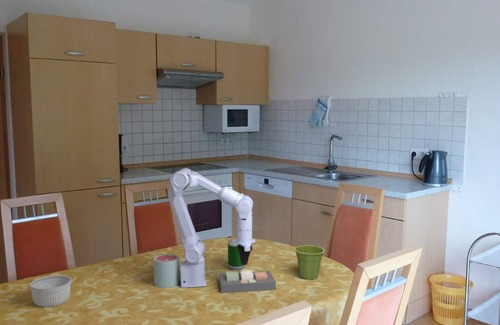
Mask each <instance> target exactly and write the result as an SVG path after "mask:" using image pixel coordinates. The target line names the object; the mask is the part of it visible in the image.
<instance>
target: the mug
mask: <svg viewBox="0 0 500 325" xmlns="http://www.w3.org/2000/svg"><path fill="white" fill-rule="evenodd" d="M179 259H180V257H179V256H178V255H176V254H171V253H169V254H168V253H167V254H166V253H165V254H160V255H156V256H155V257H154V258H153V269H154V270H153V272H154V274H153V275H154V276H153V278H154V280H153V282H154V287H156V288H161V289H169V288H173V287H177V286H178V285H179V284H180V265H179V264H180V262H179Z"/></svg>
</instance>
